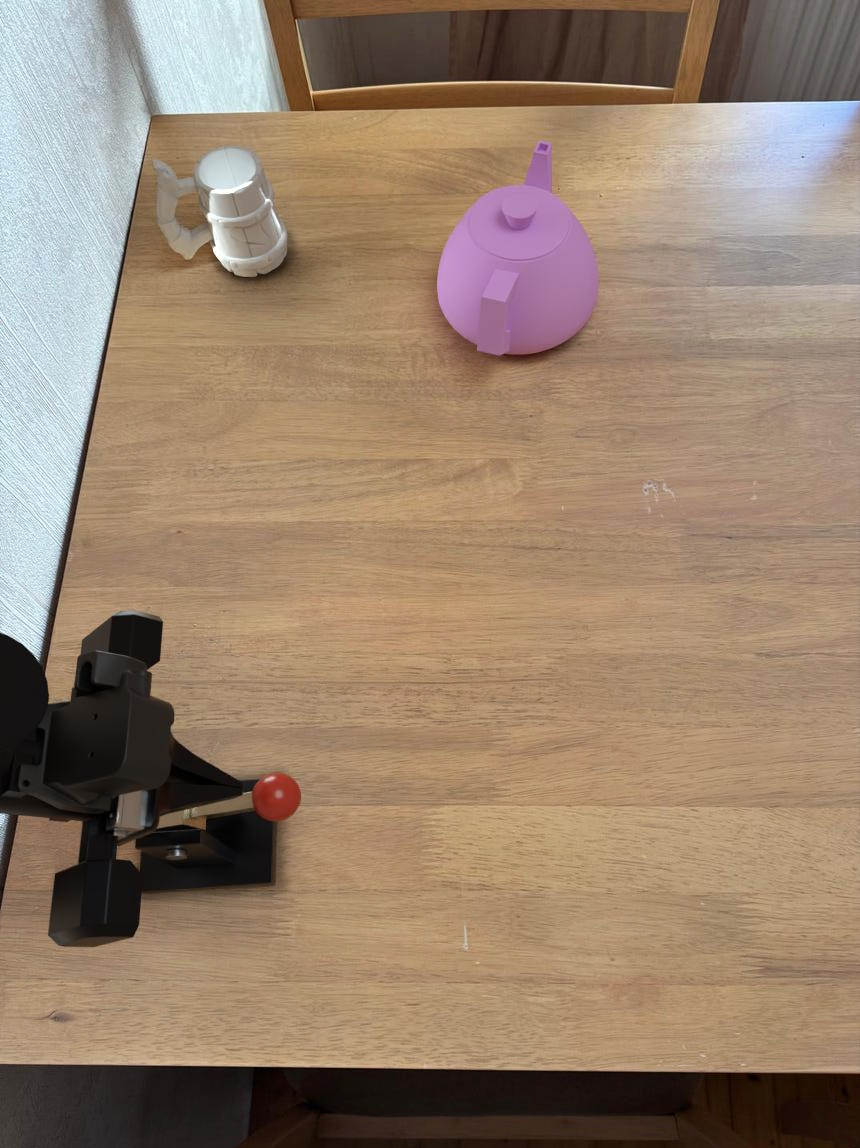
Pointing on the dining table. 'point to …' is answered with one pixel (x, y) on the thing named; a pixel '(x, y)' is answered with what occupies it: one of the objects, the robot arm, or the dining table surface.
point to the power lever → (242, 805)
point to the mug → (225, 211)
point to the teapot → (519, 268)
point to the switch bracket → (211, 854)
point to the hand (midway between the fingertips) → (239, 790)
